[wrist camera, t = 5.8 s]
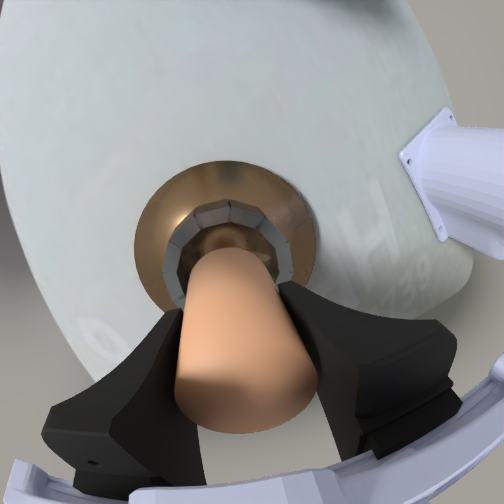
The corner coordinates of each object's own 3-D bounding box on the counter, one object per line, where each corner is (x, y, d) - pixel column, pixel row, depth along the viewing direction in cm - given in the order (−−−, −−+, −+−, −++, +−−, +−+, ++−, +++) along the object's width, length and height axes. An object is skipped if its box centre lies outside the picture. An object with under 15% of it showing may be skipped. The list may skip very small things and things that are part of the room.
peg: (285, 287, 14) (341, 387, 7) (227, 333, 14) (241, 444, 8) (233, 230, 12) (258, 312, 6) (171, 284, 13) (145, 394, 6)
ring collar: (343, 253, 19) (363, 270, 16) (224, 353, 21) (227, 380, 18) (230, 121, 15) (234, 113, 12) (103, 253, 17) (86, 271, 14)
